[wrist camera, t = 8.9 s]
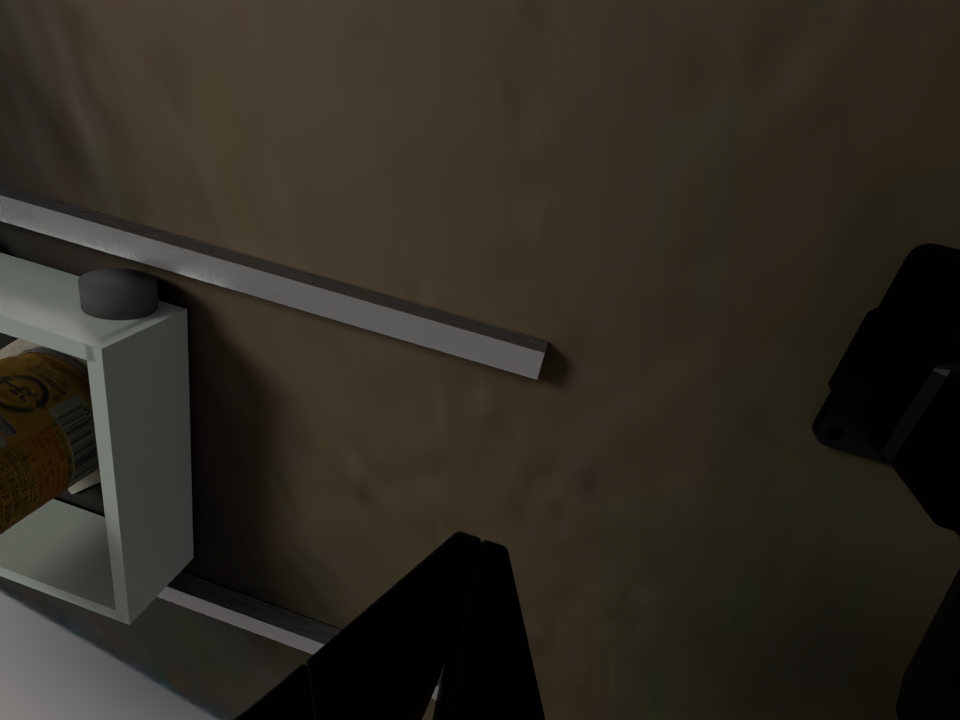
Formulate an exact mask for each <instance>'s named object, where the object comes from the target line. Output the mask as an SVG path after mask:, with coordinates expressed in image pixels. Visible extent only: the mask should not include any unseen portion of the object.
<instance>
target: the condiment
mask: <svg viewBox="0 0 960 720" xmlns="http://www.w3.org/2000/svg"><path fill="white" fill-rule="evenodd" d="M100 482H101V477H100V469H99V460H98V452H97V443H96V434H95V426H94V417H93V409H92V400H91V392H90V383H89V375H88V366H87V360H85V359H83V360H82V359H80V358H78V357H75V356H72V355H69V354H66V353H63V352H60V351H57V350H54V349H51V348H47V347H44V346H41V345H38V344H35V343H32V342H29V341H26V340H23V339H17V340H16V341H14V342H12V343H11V344H9V345H7V346H6V347H4V348H3V349H1V350H0V534H3V533H4V532H5V531H6V530H8V529H9V528H11V527H12V526H14V525H15V524H16V523H18V522H20V521H21V520H22V519H24V518H25V517H27V516H28V515H29V514H31V513H33V512H34V511H36V510H37V509H39V508H40V507H42V506H43V505H45V504H46V503H47V502H49V501H50V500H52V499H53V498H55V497H57V496H58V495H59V494H61V493H62V492H64V491H66V490H67V489H68V491H69V492H70V493H71V494H74V493H76V492H78V491H81V490H83V489H85V488H88V487H90V486H92V485H94V484H97V483H100Z"/></svg>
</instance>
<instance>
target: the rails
mask: <svg viewBox="0 0 960 720" xmlns="http://www.w3.org/2000/svg"><path fill="white" fill-rule="evenodd" d="M0 221H2V222H6V223H9V224H12V225H16V226H19V227H22V228H26V229H29V230H33V231H36V232H39V233H43V234H46V235H49V236H53V237H56V238H60V239H63V240H66V241H70V242H73V243H77V244H80V245H83V246H87V247H90V248H93V249H97V250H100V251H104V252H107V253H110V254H114V255H117V256H120V257H124V258H127V259H131V260H134V261H137V262H141V263H144V264H147V265H151V266H154V267H158V268H161V269H164V270H168V271H171V272H175V273H178V274H181V275H185V276H188V277H191V278H195V279H198V280H202V281H205V282H208V283H212V284H215V285H218V286H222V287H225V288H229V289H232V290H235V291H239V292H242V293H245V294H249V295H252V296H256V297H259V298H262V299H266V300H269V301H273V302H276V303H279V304H283V305H286V306H289V307H293V308H296V309H300V310H303V311H306V312H310V313H313V314H316V315H320V316H323V317H327V318H330V319H333V320H337V321H340V322H344V323H347V324H350V325H354V326H357V327H360V328H364V329H367V330H371V331H374V332H377V333H381V334H384V335H387V336H391V337H394V338H398V339H401V340H404V341H408V342H411V343H414V344H418V345H421V346H425V347H428V348H431V349H435V350H438V351H442V352H445V353H448V354H452V355H455V356H458V357H462V358H465V359H469V360H472V361H475V362H479V363H482V364H485V365H489V366H492V367H496V368H499V369H502V370H506V371H509V372H512V373H516V374H519V375H523V376H526V377H529V378H533V379H536V380H537V378H538V375H539V372H540V369H541V365H542V362H543V358H544V355H545V352H546V348H547V345H548V341H544V340H541V339H537V338H534V337H530V336H527V335H523V334H520V333H516V332H513V331H509V330H506V329H503V328H499V327H496V326H492V325H489V324H485V323H482V322H478V321H475V320H471V319H468V318H464V317H461V316H457V315H454V314H450V313H447V312H443V311H440V310H436V309H433V308H429V307H426V306H422V305H419V304H415V303H412V302H409V301H405V300H402V299H398V298H395V297H391V296H388V295H384V294H381V293H377V292H374V291H370V290H367V289H363V288H360V287H356V286H353V285H349V284H346V283H342V282H339V281H335V280H332V279H328V278H325V277H321V276H318V275H315V274H311V273H308V272H304V271H301V270H297V269H294V268H290V267H287V266H283V265H280V264H276V263H273V262H269V261H266V260H262V259H259V258H255V257H252V256H248V255H245V254H241V253H238V252H234V251H231V250H227V249H224V248H221V247H217V246H214V245H210V244H207V243H203V242H200V241H196V240H193V239H189V238H186V237H182V236H179V235H175V234H172V233H168V232H165V231H161V230H158V229H154V228H151V227H147V226H144V225H140V224H137V223H133V222H130V221H127V220H123V219H120V218H116V217H113V216H109V215H106V214H102V213H99V212H95V211H92V210H88V209H85V208H81V207H78V206H74V205H71V204H67V203H64V202H60V201H57V200H53V199H50V198H46V197H43V196H39V195H36V194H33V193H29V192H26V191H22V190H19V189H15V188H12V187H8V186H5V185H1V184H0ZM157 597H159V598H162V599H165V600H167V601H170V602H173V603H175V604H178V605H181V606H184V607H186V608H189V609H192V610H194V611H197V612H200V613H202V614H205V615H208V616H211V617H213V618H216V619H219V620H221V621H224V622H227V623H229V624H232V625H235V626H238V627H240V628H243V629H246V630H248V631H251V632H254V633H256V634H259V635H262V636H264V637H267V638H270V639H273V640H275V641H278V642H281V643H283V644H286V645H289V646H291V647H294V648H297V649H300V650H302V651H305V652H308V653H310V654H314V653H316V652H317V651H318V650H319V649H320V648H321V647H323V646H324V645H325V644H326V643H327V642H328V641H330V640H331V639H332V638H333V637H334V636H335V635H337V634H338V633H339V632H340V631H341V630H340V629H338V628H335V627H332V626H329V625H327V624H324V623H321V622H318V621H316V620H313V619H310V618H307V617H305V616H302V615H299V614H296V613H294V612H291V611H288V610H285V609H283V608H280V607H277V606H274V605H272V604H269V603H266V602H263V601H261V600H258V599H255V598H252V597H250V596H247V595H244V594H241V593H238V592H236V591H233V590H230V589H227V588H225V587H222V586H219V585H216V584H214V583H211V582H208V581H205V580H203V579H200V578H197V577H194V576H192V575H189V574H186V573H183V572H180V573H179V574H178V575H177V576H176V577H175V578H174V579H173V580H172V581H171V582H170V583H169V584H168V585H167V586H166V587H165V588H164V589H163V590H162V592H161V593H160V594H159V595H158V596H157ZM443 669H444V667H443ZM442 672H443V670H442ZM441 676H442V673H441ZM441 676H440V678H439V681H438V683H437V686H436V688H435V691H434V693H433V695H432V699H434V700H436V698H437V693H438V689H439V684H440V680H441Z"/></svg>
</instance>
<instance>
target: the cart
mask: <svg viewBox="0 0 960 720" xmlns="http://www.w3.org/2000/svg"><path fill="white" fill-rule="evenodd" d="M0 332H1V333H4V334H7V335H10V336H13V337H16V338H19V339H23V340H26V341H29V342H32V343H35V344H38V345H41V346H44V347H47V348H51V349H54V350H57V351H60V352H63V353H66V354H69V355H72V356H75V357H78V358H82V359H85V360H87V366H88V375H89V383H90V392H91V400H92V409H93V417H94V426H95V434H96V443H97V452H98V460H99V469H100V477H101V486H102V494H103V503H104V511H105V517H103V516H100V515H97V514H94V513H92V512H89V511H86V510H83V509H80V508H78V507H75V506H72V505H69V504H66V503H64V502H61V501H58V500H55V499H52V500H50V501H49V502H47V503H46V504H45V505H43V506H42V507H40V508H39V509H37V510H36V511H34V512H33V513H31V514H29V515H28V516H27V517H25V518H24V519H22V520H21V521H20V522H18V523H16V524H15V525H14V526H12V527H11V528H9V529H8V530H6V531H5V532H4V533H3V534H0V576H2V577H5V578H7V579H10V580H13V581H15V582H18V583H21V584H23V585H26V586H28V587H31V588H34V589H36V590H39V591H42V592H44V593H47V594H50V595H52V596H55V597H57V598H60V599H63V600H65V601H68V602H71V603H73V604H76V605H78V606H81V607H84V608H86V609H89V610H92V611H94V612H97V613H100V614H102V615H105V616H107V617H110V618H113V619H115V620H118V621H121V622H123V623H126V624H129V625H130V624H131V623H132V622H133V621H134V620H135V619H136V618H137V617H138V616H139V615H140V614H141V613H142V612H143V610H144V609H145V608H146V607H147V606H148V605H149V604H150V603H151V602H152V601H153V600H154V599H155V598H156V597H157V596H158V595H159V594H160V593H161V592H162V590H163V589H164V588H165V587H166V586H167V585H168V584H169V583H170V582H171V581H172V580H173V579H174V578H175V577H176V576H177V575H178V574H179V573H180V572H181V570H182V569H183V568H184V567H185V566H186V565H187V564H188V563H189V562H190V561H191V560H192V559H193V558H194V555H193V516H192V478H191V440H190V402H189V364H188V325H187V309H185V308H182V307H178V306H175V305H172V304H169V303H165V302H162V301H159V300H158V290H157V280H156V278H155V277H154V276H152V275H150V274H148V273H145V272H142V271H138V270H132V269H119V268H114V269H101V270H95V271H91V272H88V273H85V274H83V275H82V276H76V275H73V274H70V273H66V272H63V271H60V270H57V269H53V268H50V267H47V266H43V265H40V264H37V263H33V262H30V261H27V260H24V259H20V258H17V257H14V256H10V255H7V254H4V253H0Z"/></svg>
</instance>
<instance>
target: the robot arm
mask: <svg viewBox="0 0 960 720" xmlns="http://www.w3.org/2000/svg"><path fill="white" fill-rule="evenodd" d="M931 256H936V258H937V261H936V264H935V265H934V266H933V267H932V268H931V269H928V270H922V268H921V267H922V263H923V262H924V261H925V259H926V258H928V257H931ZM828 385H829V387H830V389H831V392H830V394H829V395H828V397H827V399H826V401H825V403H824V404H823V406H822V408H821V410H820V411H819V413H818V415H817V417H816V419H815V420H814V422H813V426H812V429H813V433H814V435H815V436H816V438H817V440H818V441H819V442H820V443H821V444H823V445H825V446H828V447H831V448H835V449H838V450H842V451H845V452H848V453H852V454H855V455H859V456H862V457H866V458H869V459H872V460H876V461H879V462H883V463H886V464H889V465H891V466H892V467H893V468H894V470H895V471H896V472H897V474H898V475H899V476H900V478H901V479H902V480H903V482H904V483H905V484H906V486H907V487H908V488H909V490H910V491H911V492H912V494H913V495H914V496H915V498H916V499H917V500H918V502H919V503H920V504H921V506H922V507H923V508H924V510H925V511H926V512H927V514H928V515H929V517H930V518H931V519H932V521H933V522H934V523H935V524H937V525H939V526H940V527H943V528H947V529H950V530H953V531H955V532H956V533H957V534H958V536H959V537H960V250H959V249H955V248H951V247H947V246H942V245H938V244H929V243H927V244H924V245H920V246H918V247H916V248H915V249H913V250H912V251H911V252H910V253H909V254H908V256H907V257H906V259H905V261H904V262H903V264H902V266H901V268H900V269H899V271H898V273H897V275H896V277H895V278H894V280H893V282H892V284H891V285H890V287H889V289H888V291H887V292H886V294H885V296H884V298H883V300H882V301H881V303H880V305H879V307H877V308H875V309H873V310H871V311H869V312H868V313H867V314H866V316H865V318H864V320H863V322H862V323H861V325H860V327H859V329H858V331H857V332H856V334H855V336H854V338H853V340H852V341H851V343H850V345H849V347H848V349H847V350H846V352H845V354H844V356H843V358H842V359H841V361H840V363H839V365H838V367H837V368H836V370H835V372H834V374H833V375H832V377H831V379H830V381H829V384H828ZM831 426H839V427H838V430H837V431H836V432H834V433H831V434H830V433H825V430H826V429H827V428H828V427H831ZM446 657H447V658H446ZM445 661H446V662H445ZM444 664H445V665H444ZM443 667H444V669H443ZM442 670H443V672H442ZM441 673H442V676H441ZM440 676H441V680H440V684H439V689H438V693H437V698H436V703H435V709H434V714H433V719H432V720H545V716H544V712H543V707H542V703H541V698H540V694H539V689H538V685H537V680H536V675H535V671H534V666H533V662H532V657H531V653H530V648H529V644H528V639H527V635H526V630H525V626H524V621H523V617H522V612H521V607H520V603H519V598H518V594H517V589H516V585H515V580H514V576H513V571H512V567H511V562H510V558H509V553H508V550H507V548H506V547H505V546H503V545H500V544H497V543H494V542H491V541H488V540H483V541H482V543H481V540H480V538H478V537H476V536H473V535H470V534H467V533H464V532H461V531H459V532H456V533H454V534H453V535H452V536H451V537H450V538H448V539H447V540H446V541H445V542H444V543H443V544H441V545H440V546H439V547H438V548H437V549H436V550H434V551H433V552H432V553H431V554H430V555H429V556H427V557H426V558H425V559H424V560H423V561H422V562H420V563H419V564H418V565H417V566H416V567H415V568H413V569H412V570H411V571H410V572H409V573H408V574H406V575H405V576H404V577H403V578H402V579H401V580H399V581H398V582H397V583H396V584H395V585H394V586H393V587H391V588H390V589H389V590H388V591H387V592H386V593H384V594H383V595H382V596H381V597H380V598H379V599H377V600H376V601H375V602H374V603H373V604H372V605H370V606H369V607H368V608H367V609H366V610H365V611H363V612H362V613H361V614H360V615H359V616H358V617H356V618H355V619H354V620H353V621H352V622H351V623H349V624H348V625H347V626H346V627H345V628H344V629H342V630H341V631H340V632H339V633H338V634H337V635H335V636H334V637H333V638H332V639H331V640H330V641H328V642H327V643H326V644H325V645H324V646H323V647H321V648H320V649H319V650H318V651H317V652H316V653H314V654H313V655H312V656H311V657H310V658H309V659H307V661H306V664H305V665H304V664H302V665H300V666H299V667H298V668H297V669H295V670H294V671H293V672H292V673H291V674H290V675H289V676H287V677H286V678H285V679H284V680H283V681H282V682H280V683H279V684H278V685H277V686H275V687H274V688H273V689H272V690H271V691H269V692H268V693H267V694H266V695H264V696H263V697H262V698H261V699H259V700H258V701H257V702H256V703H254V704H253V705H252V706H251V707H249V708H248V709H247V710H246V711H244V712H243V713H242V714H240V715H239V716H237V717H236V718H235V719H233V720H422V718H423V716H424V713H425V711H426V709H427V707H428V704H429V702H430V700H431V698H432V695H433V693H434V691H435V688H436V686H437V683H438V681H439V678H440ZM896 712H897V716H898V720H960V569H959V570H958V572H957V574H956V576H955V578H954V580H953V582H952V584H951V586H950V588H949V590H948V591H947V593H946V595H945V597H944V599H943V601H942V603H941V605H940V607H939V609H938V611H937V612H936V614H935V616H934V618H933V620H932V622H931V624H930V626H929V628H928V630H927V631H926V633H925V635H924V637H923V639H922V641H921V643H920V645H919V647H918V649H917V651H916V652H915V654H914V656H913V658H912V660H911V662H910V664H909V666H908V668H907V670H906V672H905V673H904V675H903V680H902V684H901V688H900V692H899V697H898V701H897V705H896Z"/></svg>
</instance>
